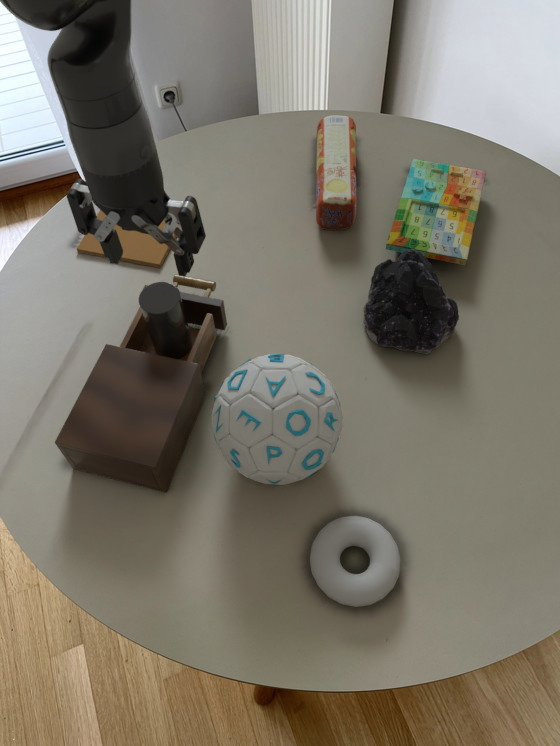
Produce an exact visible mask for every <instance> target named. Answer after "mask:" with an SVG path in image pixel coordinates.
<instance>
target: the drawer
mask: <svg viewBox="0 0 560 746" xmlns="http://www.w3.org/2000/svg"><path fill="white" fill-rule="evenodd" d="M172 284H173V285H175V286H176V287H177V288H178V287H179V286H182V287H187V288H193V289H196V290H197V289H198V290H202V291H205V292H204V295H198V294H194V293H188V292H183V291H180V294H181V298H182V302H183V306H184V310H185V314H186V318H187V322H188V324H190V325H194V326H195V325H196V326H200V328H196V327H191V326H189V330H190V334H191V338H192V347H191V350H190V351H189V353H188V354H187V355H186V356H184V357H183V358H180V359H178V360H183V361H188V362H192V363H197V364H199V368H200V372H201V374H202V373H203V370H204V368H205V365H206V364H207V360H208V358H209V356H210V354H211V351H212V349H213V346H214V344H215V341H216V338H217V337H218V336H217V331H216V330H218V331H219V330H220V331H226V329H227V326H228V320H227V314H226V308H225V302H224V300H223V299H219V298H214V297H211V294H212V292H215V291H216V288H217V282H216V281H213V280H210V279H209V280H207V279H202V278H197V277H192V276H188V275H186V276H180V275H179V274H178V273H177V274H174V275H173V278H172ZM148 285H149V284H144V286H143V288H142V290H143V289H144V288H145V287H147V286H148ZM137 309H138V310H137V312H136V314H135V315H134V318H133V320H132V321H131V323H130V325H129V327H128V329H127V331H126V333H125V335H124V337H123V339H122V341H121V343H120V345H119V347H122V348H127V349H132V350H136V351H141V352H146V353H150V354H155V355H157V354H156V352H155V349H154V346H153V344H152V341H151V338H150V335H149V332H148V329H147V326H146V323H145V320H144V317H143V314H142V311H141V308H140V307H139V308H137Z"/></svg>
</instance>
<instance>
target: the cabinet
mask: <svg viewBox="0 0 560 746" xmlns="http://www.w3.org/2000/svg"><path fill="white" fill-rule="evenodd" d="M206 395H207V392H206V389H205V384H204V380H203V377H202V373H201V372H200V368H199V364H197V363H192V362H188V361H183V360H178V359H174V358H169V357H164V356H160V355H155V354H150V353H146V352H141V351H136V350H132V349H127V348H122V347H120V346H117V345H112V344H107V343H106V344H105V345H104V347H103V349H102V350H101V352H100V354H99V356H98V358H97V360H96V362H95V364H94V366H93V368H92V370H91V372H90V373H89V376H88V378H87V380H86V381H85V383H84V385H83V387H82V389H81V391H80V392H79V395H78V397H77V399H76V401H75V402H74V404H73V406H72V408H71V409H70V411H69V414H68V415H67V417H66V420H65V421H64V423H63V425H62V427H61V429H60V431H59V433H58V435H57V436H56V439H55V441H54V444H55V446H57V449H58V450H59V451H60V452H61V454H62V456H63V457H64V458H65V460H66V461H67V463H68V464H69V465H70V467H71V468H72V469H73V470H77V471H80V472H84V473H87V472H88V474H91V473H92V475H95V474H96V475H95V476H99V475H100V477H103V476H104V478H106V479H107V478H108V479H112V480H115V481H119V482H123V483H126V484H130V485H134V486H139V487H142V486H143V488H146V487H147V489H150V490H154V489H155V491H158V490H159V492H163V493H167V492H168V490H169V487H170V485H171V483H172V480H173V478H174V475H175V473H176V470H177V468H178V465H179V463H180V460H181V458H182V455H183V453H184V451H185V448H186V445H187V443H188V439H189V438H190V436H191V432H192V431H193V428H194V426H195V423H196V420H197V417H198V416H199V413H200V410H201V408H202V405H203V403H202V402H204V400H205V398H206ZM198 412H199V413H198Z"/></svg>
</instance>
